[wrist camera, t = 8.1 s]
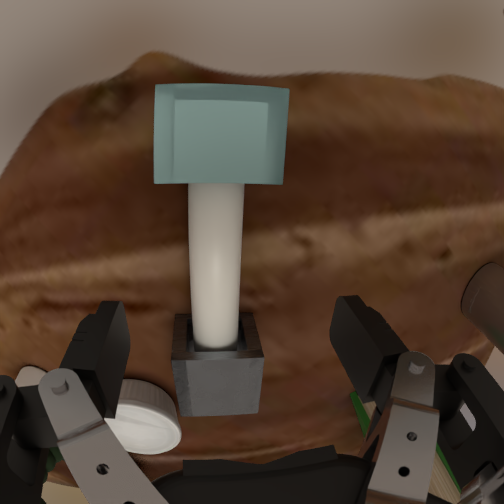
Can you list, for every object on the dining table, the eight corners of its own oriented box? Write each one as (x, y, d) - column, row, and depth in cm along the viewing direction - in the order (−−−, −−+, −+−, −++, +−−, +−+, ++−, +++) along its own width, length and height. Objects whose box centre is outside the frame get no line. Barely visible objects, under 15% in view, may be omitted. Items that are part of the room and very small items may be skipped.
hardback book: (349, 394, 39) (416, 534, 17) (394, 370, 39) (474, 499, 17) (364, 437, 47) (410, 539, 25) (399, 419, 46) (451, 516, 25)
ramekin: (159, 364, 32) (155, 399, 27) (194, 417, 36) (195, 449, 32) (81, 377, 31) (70, 409, 26) (123, 427, 36) (119, 456, 31)
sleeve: (252, 312, 30) (264, 357, 24) (248, 368, 33) (257, 412, 28) (175, 314, 29) (171, 360, 23) (181, 371, 32) (180, 416, 26)
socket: (267, 96, 22) (289, 88, 16) (263, 168, 25) (282, 184, 19) (168, 93, 21) (155, 84, 15) (166, 167, 23) (154, 183, 17)
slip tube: (243, 132, 22) (251, 135, 19) (234, 357, 31) (239, 385, 27) (189, 132, 22) (186, 134, 18) (195, 358, 30) (196, 387, 27)
